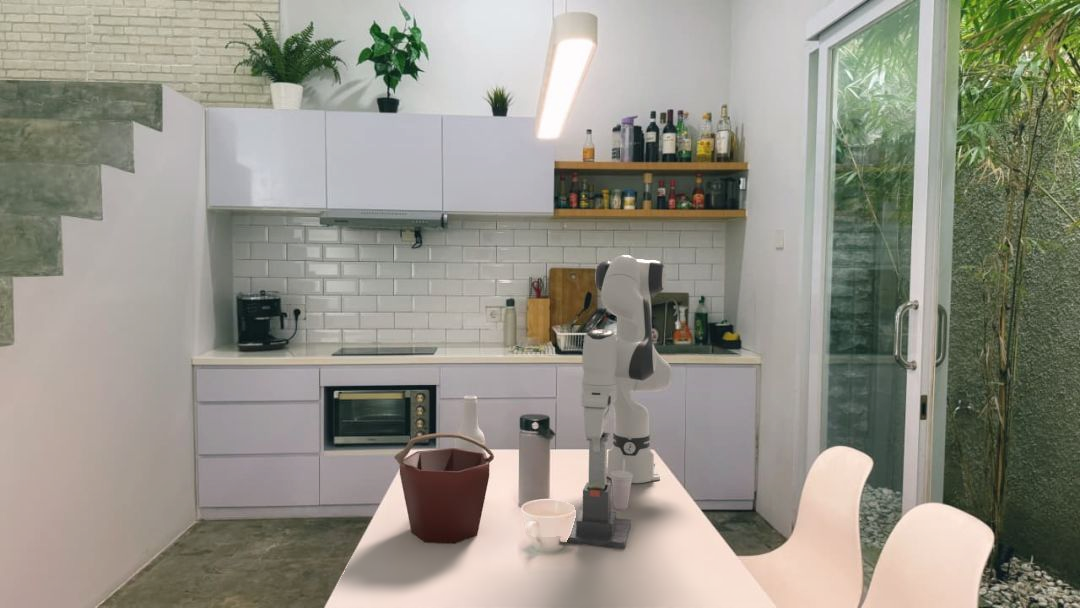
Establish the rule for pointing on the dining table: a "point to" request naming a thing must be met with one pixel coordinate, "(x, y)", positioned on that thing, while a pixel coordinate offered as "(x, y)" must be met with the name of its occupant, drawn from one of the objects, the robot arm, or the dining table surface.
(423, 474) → the bucket
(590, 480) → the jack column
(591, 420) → the robot arm
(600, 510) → the base
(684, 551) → the dining table surface
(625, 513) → the dining table surface
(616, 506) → the smoothie
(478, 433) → the white bottle
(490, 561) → the dining table surface
